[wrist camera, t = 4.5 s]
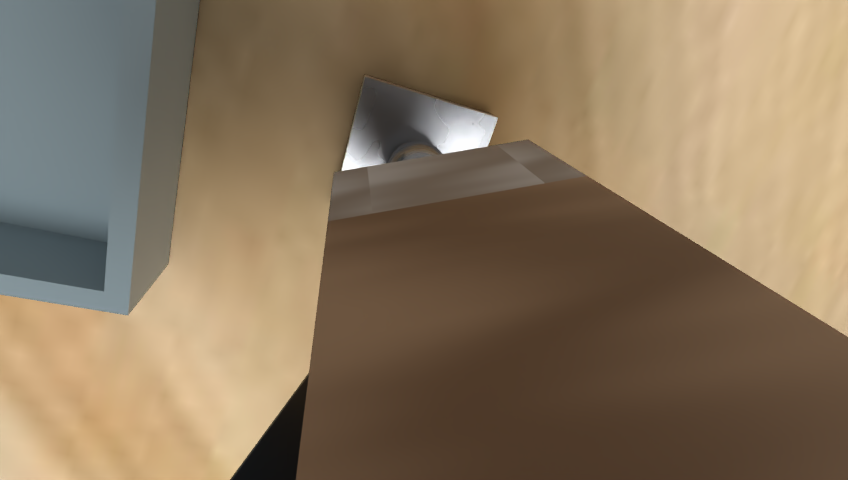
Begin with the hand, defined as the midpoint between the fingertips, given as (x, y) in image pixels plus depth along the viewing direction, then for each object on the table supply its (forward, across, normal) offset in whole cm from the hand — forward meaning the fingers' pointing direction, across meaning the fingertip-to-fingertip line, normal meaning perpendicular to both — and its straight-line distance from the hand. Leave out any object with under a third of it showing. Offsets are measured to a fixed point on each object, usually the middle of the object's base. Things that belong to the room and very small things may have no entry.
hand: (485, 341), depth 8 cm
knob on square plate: (+13, 0, 0) cm, 13 cm away
